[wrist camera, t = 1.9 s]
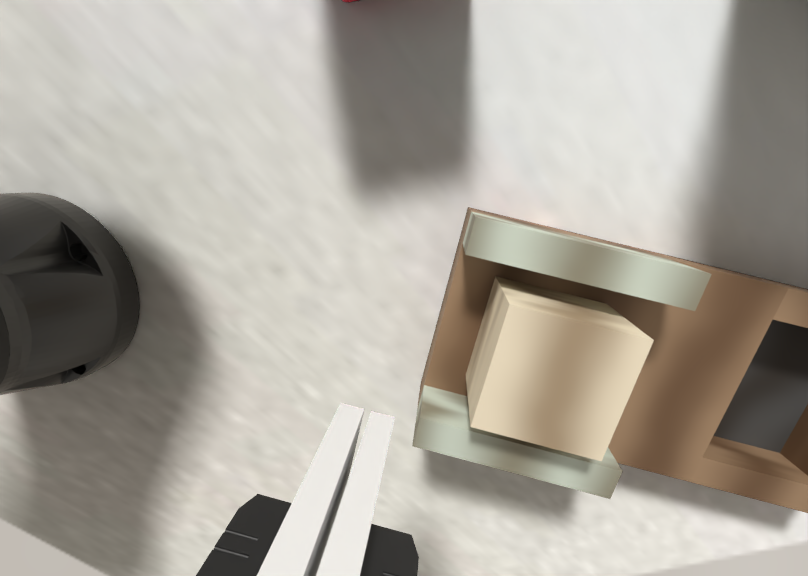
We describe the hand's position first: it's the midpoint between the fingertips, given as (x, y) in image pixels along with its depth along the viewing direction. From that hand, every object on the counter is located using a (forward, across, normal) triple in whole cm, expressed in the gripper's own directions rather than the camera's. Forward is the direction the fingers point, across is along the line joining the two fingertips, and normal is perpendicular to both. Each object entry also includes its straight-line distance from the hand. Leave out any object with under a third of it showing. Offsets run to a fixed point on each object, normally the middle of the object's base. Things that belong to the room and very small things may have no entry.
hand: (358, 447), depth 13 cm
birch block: (+14, +8, 0) cm, 17 cm away
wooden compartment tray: (+18, +17, 0) cm, 25 cm away
